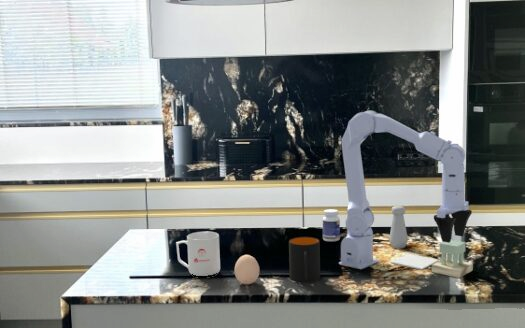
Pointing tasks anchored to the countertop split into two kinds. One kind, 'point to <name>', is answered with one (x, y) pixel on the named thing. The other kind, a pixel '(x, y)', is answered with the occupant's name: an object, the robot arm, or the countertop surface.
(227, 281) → the countertop surface
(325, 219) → the pill bottle
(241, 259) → the egg
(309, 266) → the mug
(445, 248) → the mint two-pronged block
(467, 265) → the step
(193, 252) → the mug
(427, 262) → the pad
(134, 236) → the countertop surface
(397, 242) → the salt shaker
